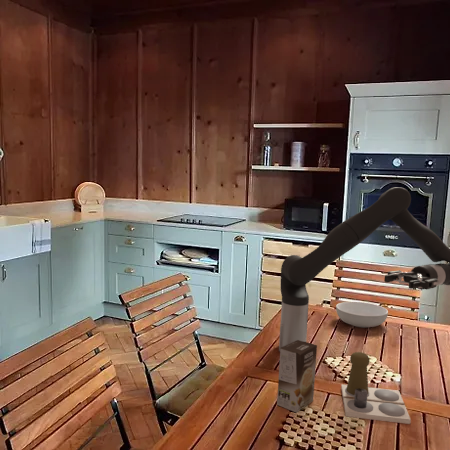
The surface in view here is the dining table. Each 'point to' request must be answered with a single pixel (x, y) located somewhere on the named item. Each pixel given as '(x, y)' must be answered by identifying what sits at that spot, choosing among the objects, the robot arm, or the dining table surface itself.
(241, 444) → the dining table surface
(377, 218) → the robot arm
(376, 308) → the serving bowl
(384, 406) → the board
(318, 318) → the dining table surface
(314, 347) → the coffee box
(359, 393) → the pin
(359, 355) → the pepper mill
